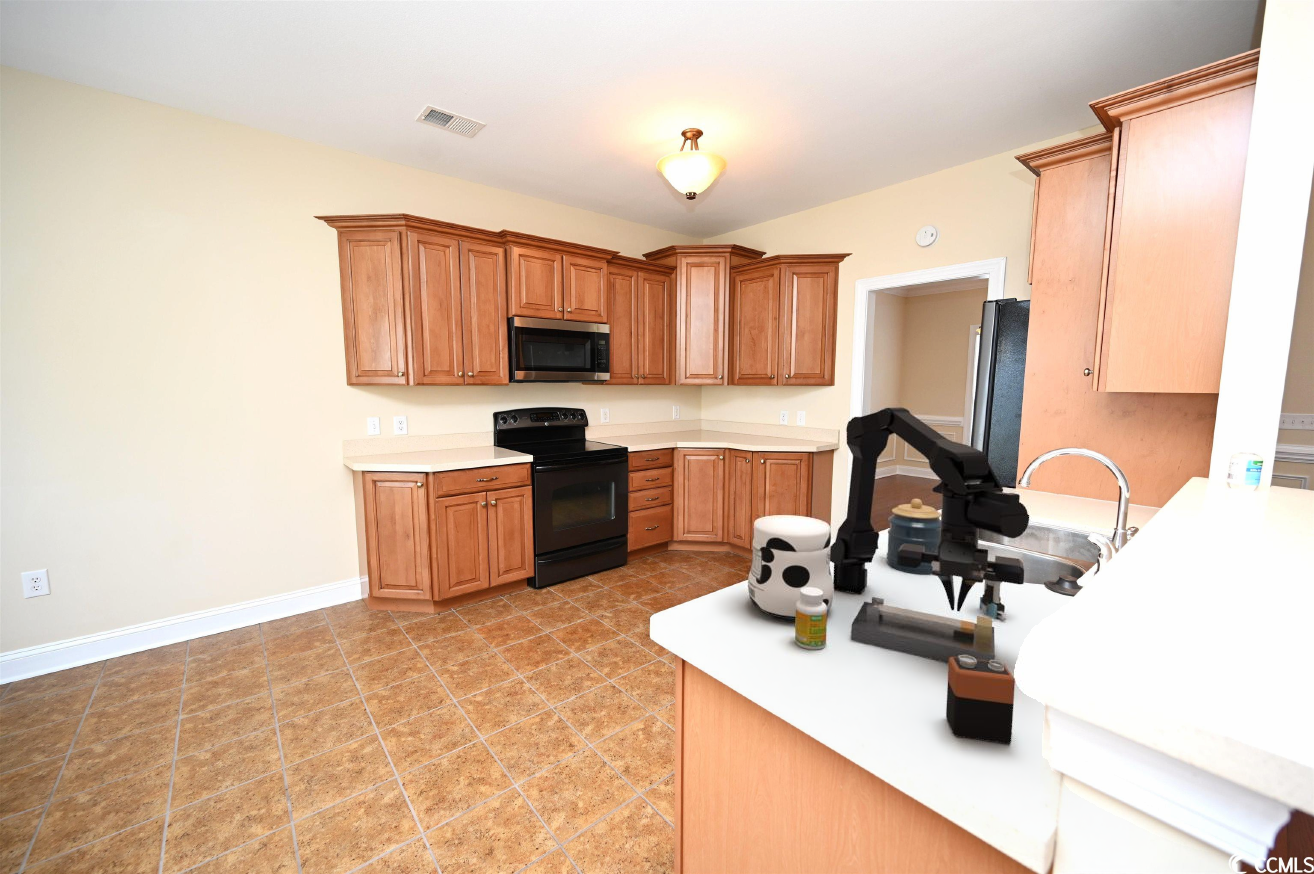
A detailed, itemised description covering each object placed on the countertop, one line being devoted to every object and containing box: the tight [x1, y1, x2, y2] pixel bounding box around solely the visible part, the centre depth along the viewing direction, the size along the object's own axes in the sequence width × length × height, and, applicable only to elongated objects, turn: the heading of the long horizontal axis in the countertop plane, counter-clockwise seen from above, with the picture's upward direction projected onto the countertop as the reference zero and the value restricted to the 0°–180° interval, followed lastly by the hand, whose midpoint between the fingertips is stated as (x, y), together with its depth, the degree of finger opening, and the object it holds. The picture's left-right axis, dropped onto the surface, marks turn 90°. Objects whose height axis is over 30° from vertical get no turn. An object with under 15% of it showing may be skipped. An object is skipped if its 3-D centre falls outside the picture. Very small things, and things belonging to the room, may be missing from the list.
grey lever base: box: [850, 596, 996, 664], centre depth 96 cm, size 22×12×6 cm, turn 58°
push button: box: [978, 572, 1007, 620], centre depth 107 cm, size 7×5×10 cm
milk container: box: [747, 514, 835, 620], centre depth 110 cm, size 17×17×18 cm
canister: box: [886, 498, 941, 575], centre depth 136 cm, size 13×13×18 cm
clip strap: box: [873, 602, 975, 634], centre depth 96 cm, size 17×3×1 cm, turn 58°
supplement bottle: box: [794, 587, 828, 651], centre depth 95 cm, size 5×5×10 cm
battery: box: [945, 655, 1016, 745], centre depth 71 cm, size 4×7×10 cm, turn 75°
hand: (955, 610), depth 93 cm, fingers closed
